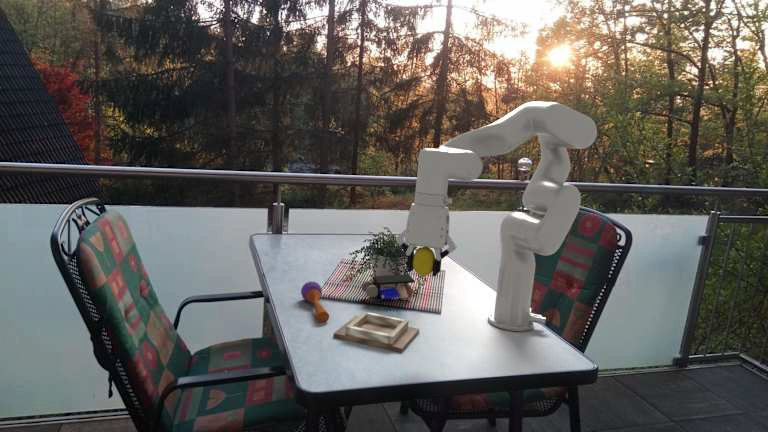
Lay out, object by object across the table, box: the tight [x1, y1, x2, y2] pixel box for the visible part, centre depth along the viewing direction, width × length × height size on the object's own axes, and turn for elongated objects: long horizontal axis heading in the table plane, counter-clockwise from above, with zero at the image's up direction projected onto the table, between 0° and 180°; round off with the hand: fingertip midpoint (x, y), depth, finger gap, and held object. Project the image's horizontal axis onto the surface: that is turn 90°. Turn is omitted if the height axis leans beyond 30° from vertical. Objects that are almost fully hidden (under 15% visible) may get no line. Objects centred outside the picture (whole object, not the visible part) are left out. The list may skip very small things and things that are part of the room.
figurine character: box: [360, 273, 416, 303], centre depth 167 cm, size 7×8×15 cm
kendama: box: [300, 281, 330, 323], centre depth 155 cm, size 6×6×20 cm
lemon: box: [413, 246, 436, 278], centre depth 135 cm, size 6×6×8 cm
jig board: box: [333, 311, 420, 353], centre depth 140 cm, size 18×14×3 cm
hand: (422, 272), depth 135 cm, fingers closed on lemon, 5 cm apart
